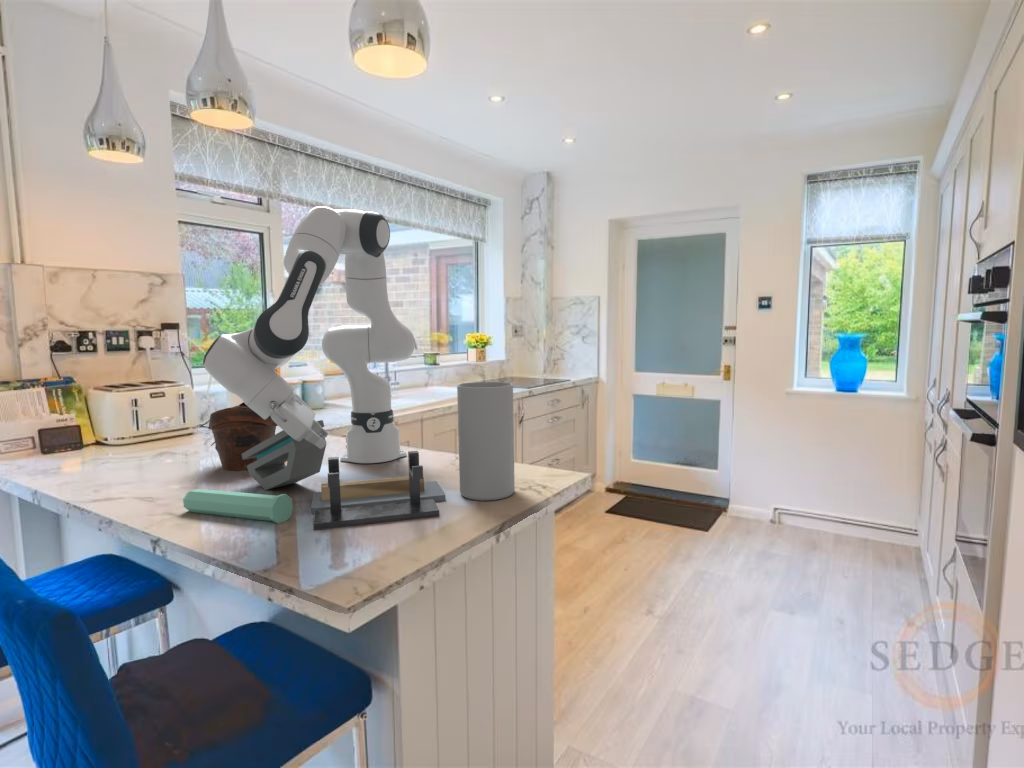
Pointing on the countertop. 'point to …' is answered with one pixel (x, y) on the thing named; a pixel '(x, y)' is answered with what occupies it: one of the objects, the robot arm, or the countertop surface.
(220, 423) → the brown tapered pot
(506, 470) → the cylinder vase
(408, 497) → the rubber mat
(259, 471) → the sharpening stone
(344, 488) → the oak rail
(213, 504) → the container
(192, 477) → the countertop surface
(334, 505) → the hook stand
